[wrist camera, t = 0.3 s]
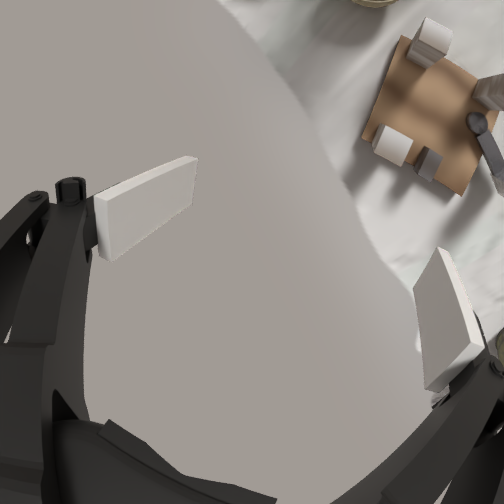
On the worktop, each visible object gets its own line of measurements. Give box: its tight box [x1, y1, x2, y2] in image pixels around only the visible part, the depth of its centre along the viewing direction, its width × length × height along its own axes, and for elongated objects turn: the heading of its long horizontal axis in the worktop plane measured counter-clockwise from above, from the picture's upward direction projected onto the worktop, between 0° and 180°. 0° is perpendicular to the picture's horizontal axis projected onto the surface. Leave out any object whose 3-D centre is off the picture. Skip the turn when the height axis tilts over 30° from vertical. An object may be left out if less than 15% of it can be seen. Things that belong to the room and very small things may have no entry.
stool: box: [361, 17, 504, 197], centre depth 24 cm, size 16×16×12 cm
